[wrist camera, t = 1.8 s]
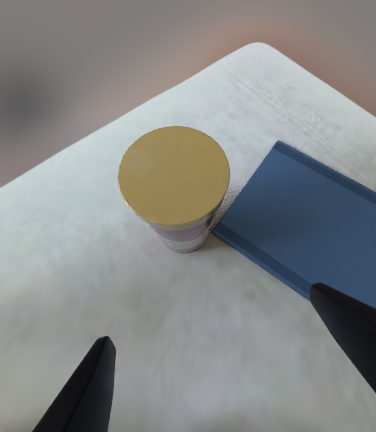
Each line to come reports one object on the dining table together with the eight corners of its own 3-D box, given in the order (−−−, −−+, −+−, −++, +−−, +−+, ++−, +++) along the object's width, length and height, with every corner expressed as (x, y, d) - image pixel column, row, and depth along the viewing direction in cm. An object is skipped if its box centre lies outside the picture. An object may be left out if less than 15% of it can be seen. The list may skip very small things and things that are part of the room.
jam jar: (220, 222, 23) (251, 159, 11) (189, 266, 22) (184, 249, 10) (178, 193, 25) (165, 110, 12) (146, 233, 23) (94, 182, 11)
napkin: (430, 223, 23) (434, 222, 22) (381, 351, 19) (384, 352, 18) (277, 141, 27) (278, 139, 26) (211, 232, 23) (211, 231, 23)
